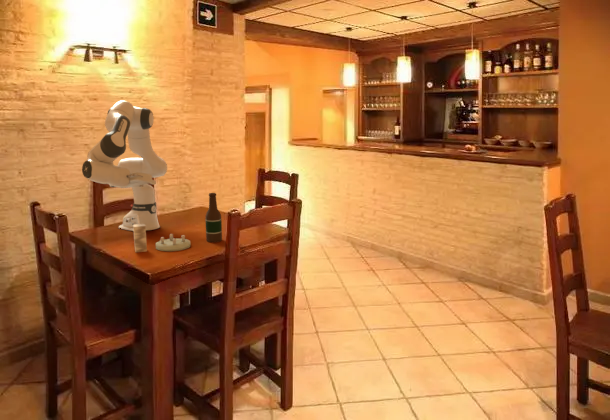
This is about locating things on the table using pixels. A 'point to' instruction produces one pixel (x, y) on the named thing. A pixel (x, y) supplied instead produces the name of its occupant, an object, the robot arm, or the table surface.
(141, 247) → the birch block
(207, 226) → the beer bottle
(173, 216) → the table surface
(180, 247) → the peg plinth
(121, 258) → the table surface
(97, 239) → the table surface
